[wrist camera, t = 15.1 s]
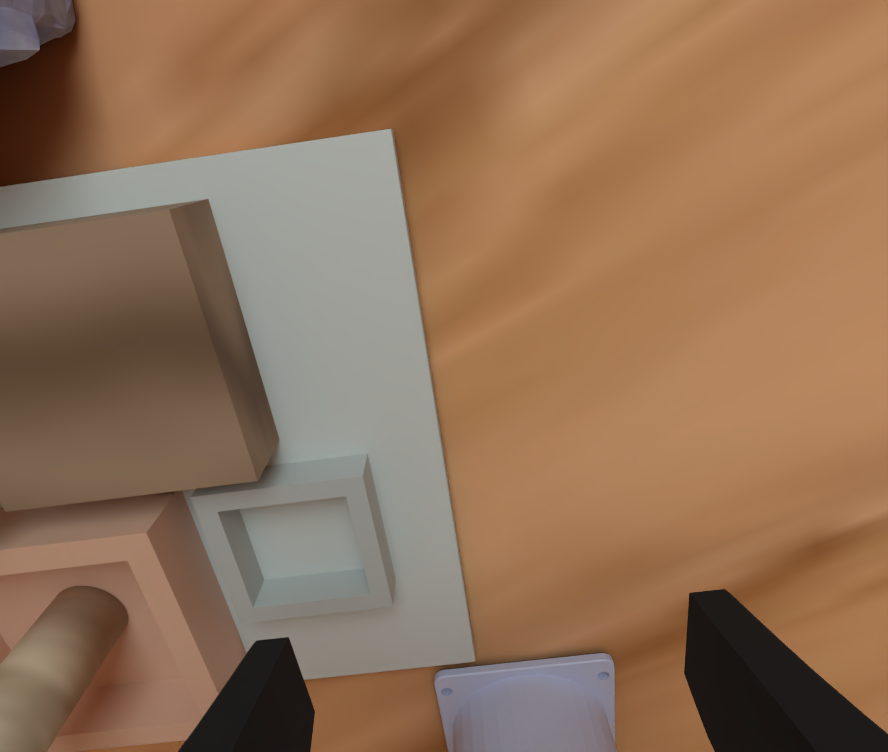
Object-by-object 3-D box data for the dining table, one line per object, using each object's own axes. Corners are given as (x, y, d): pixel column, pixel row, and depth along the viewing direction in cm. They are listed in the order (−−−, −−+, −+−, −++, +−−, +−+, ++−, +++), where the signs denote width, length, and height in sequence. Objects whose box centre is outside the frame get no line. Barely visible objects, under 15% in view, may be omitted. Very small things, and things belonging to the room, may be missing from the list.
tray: (256, 676, 24) (236, 734, 21) (34, 700, 24) (-9, 759, 22) (180, 486, 20) (146, 532, 17) (-85, 518, 20) (-153, 568, 18)
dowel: (138, 634, 22) (12, 845, 15) (72, 641, 22) (-81, 852, 15) (111, 582, 21) (-39, 786, 14) (41, 590, 21) (-138, 795, 14)
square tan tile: (279, 439, 19) (258, 481, 16) (57, 466, 19) (5, 511, 17) (208, 198, 16) (168, 209, 13) (-58, 237, 16) (-141, 254, 14)
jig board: (474, 645, 24) (482, 759, 20) (40, 692, 25) (-45, 811, 21) (393, 128, 16) (376, 126, 11) (-260, 225, 16) (-513, 258, 12)
